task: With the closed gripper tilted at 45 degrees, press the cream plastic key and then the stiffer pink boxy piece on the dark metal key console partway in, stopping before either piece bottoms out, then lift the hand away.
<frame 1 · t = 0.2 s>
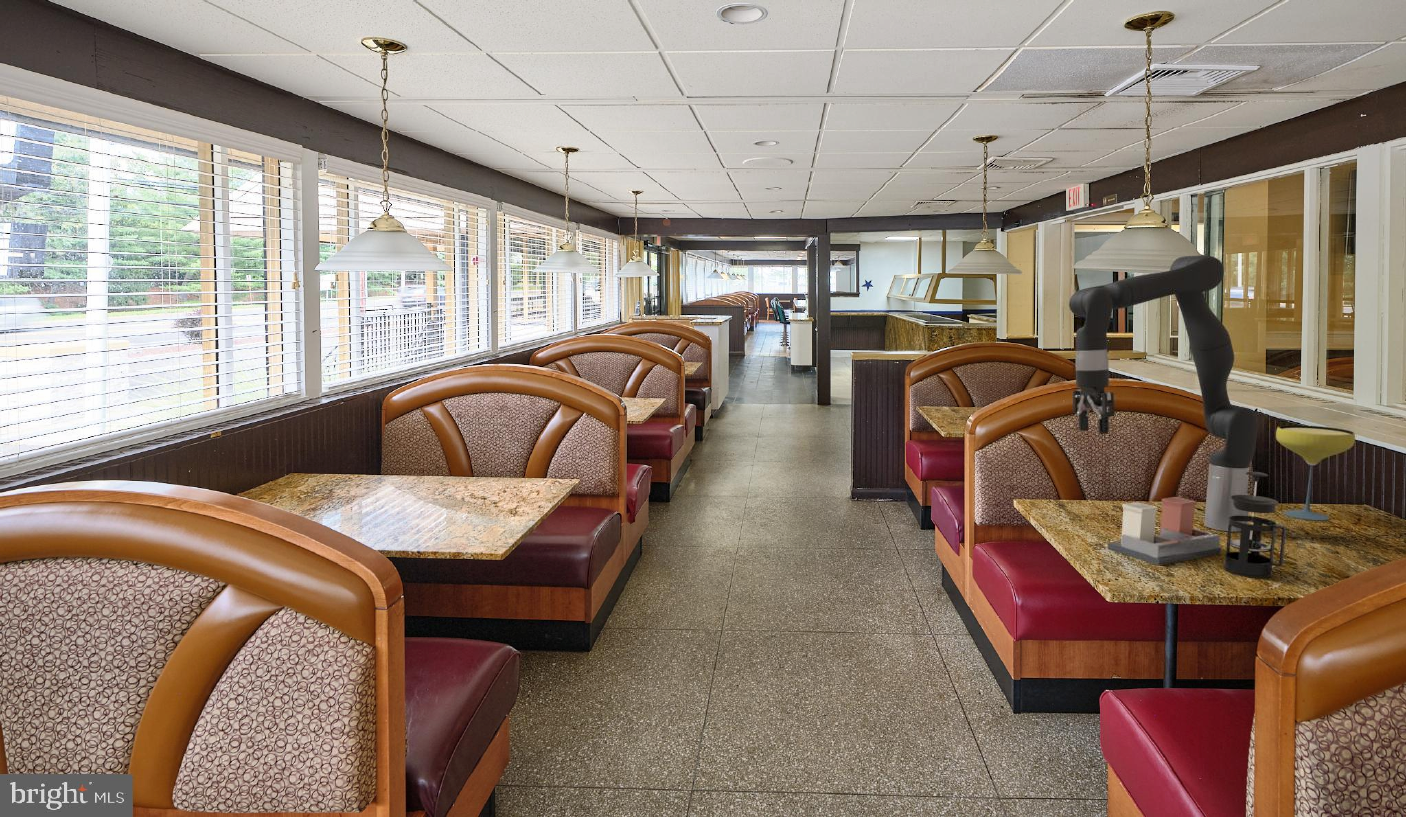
hand: (1093, 432, 214), 28 cm above the table, tool pointing down, fingers open, 8 cm apart
key console: (1159, 550, 208), on the table
pink boxy piece: (1177, 519, 211), point 7 cm above the table, slide at 0.0 cm
cocktail glass: (1306, 516, 242), on the table
french press: (1250, 573, 192), on the table
cream key: (1138, 525, 205), point 7 cm above the table, slide at 0.0 cm
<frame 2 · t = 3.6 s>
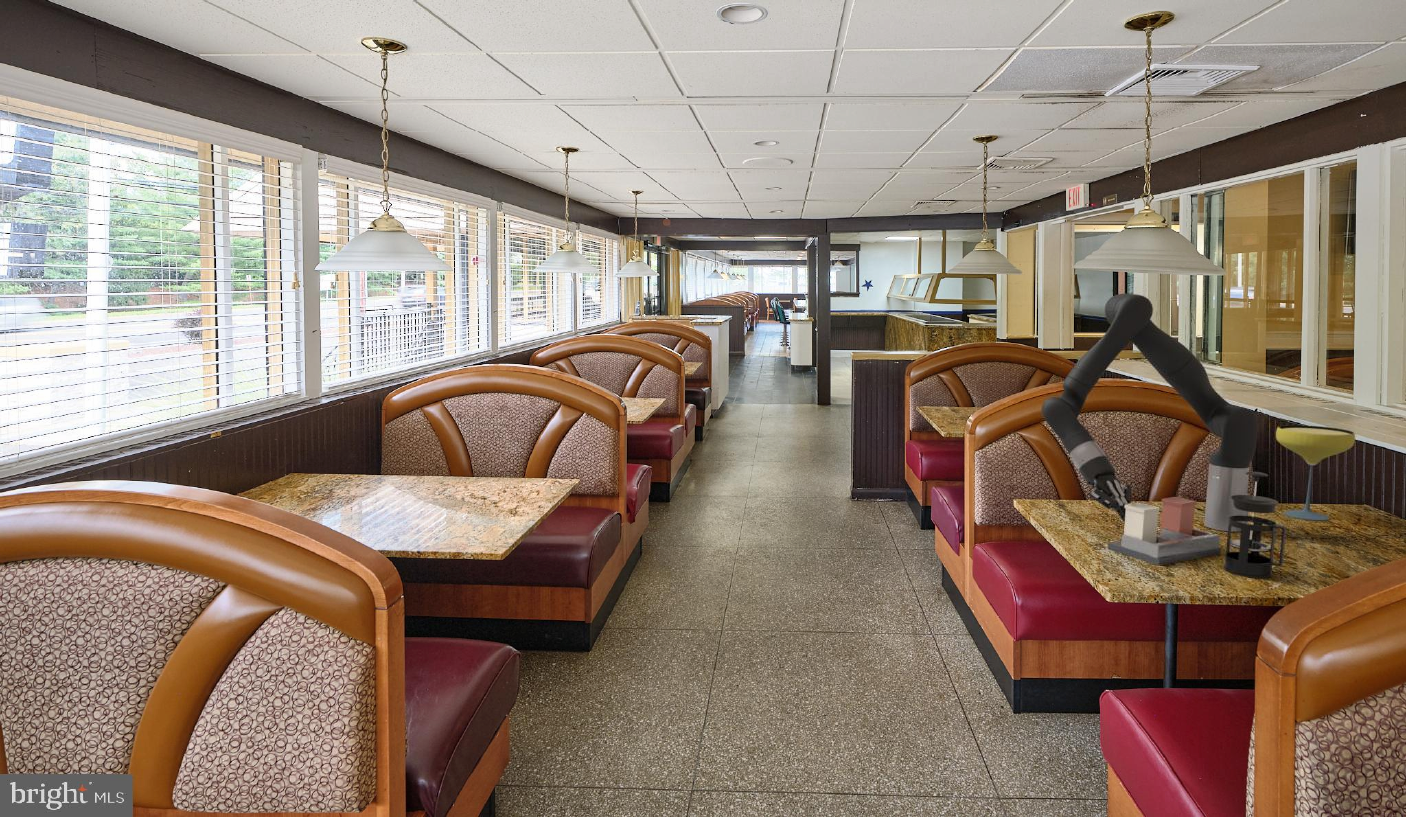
hand: (1130, 520, 208), 7 cm above the table, tool tilted 45°, fingers closed
cream key: (1140, 526, 205), point 7 cm above the table, slide at 0.6 cm, touching gripper
everything else where it was.
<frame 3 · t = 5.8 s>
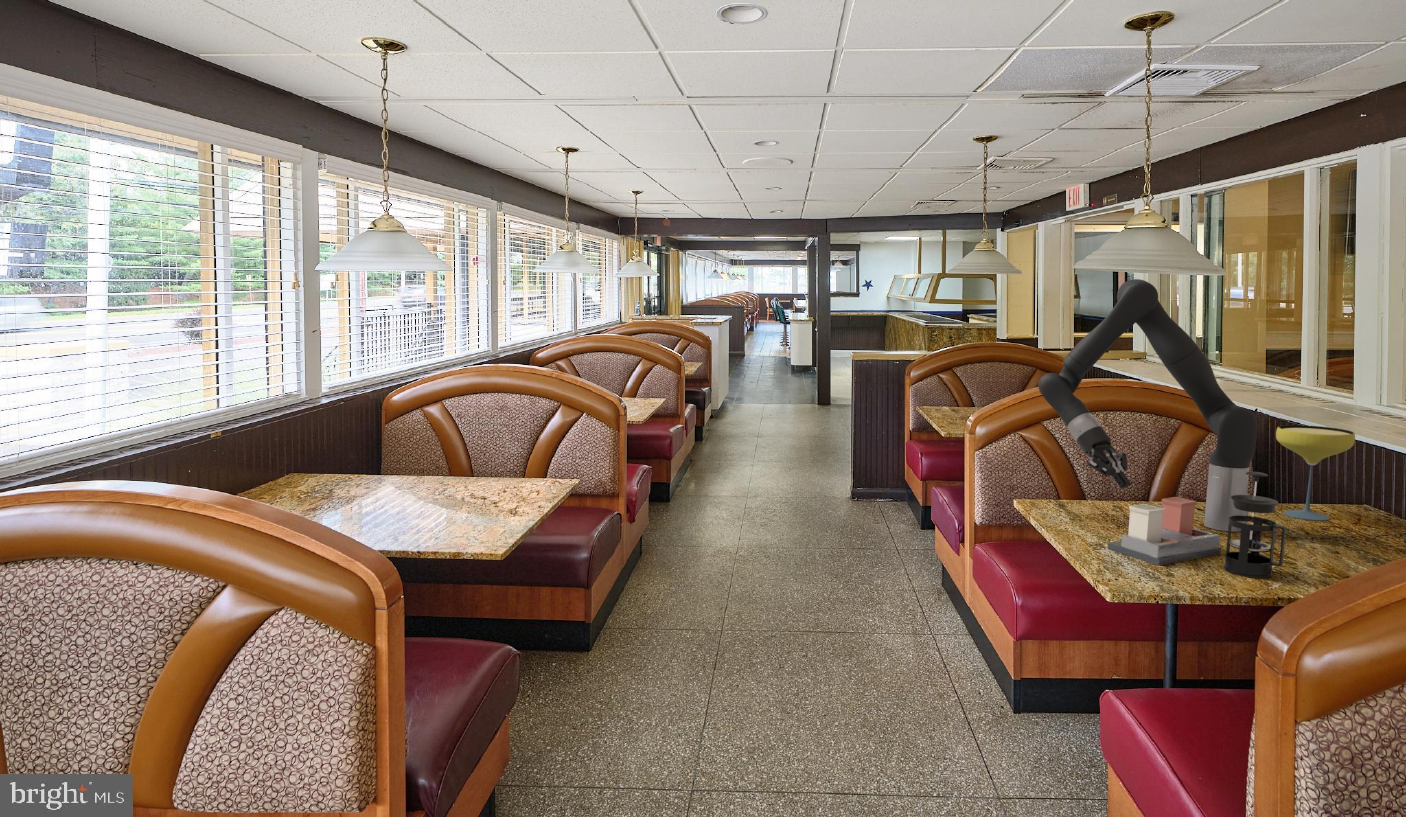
hand: (1126, 486, 219), 13 cm above the table, tool tilted 45°, fingers closed
cream key: (1145, 527, 204), point 7 cm above the table, slide at 1.8 cm
everything else where it was.
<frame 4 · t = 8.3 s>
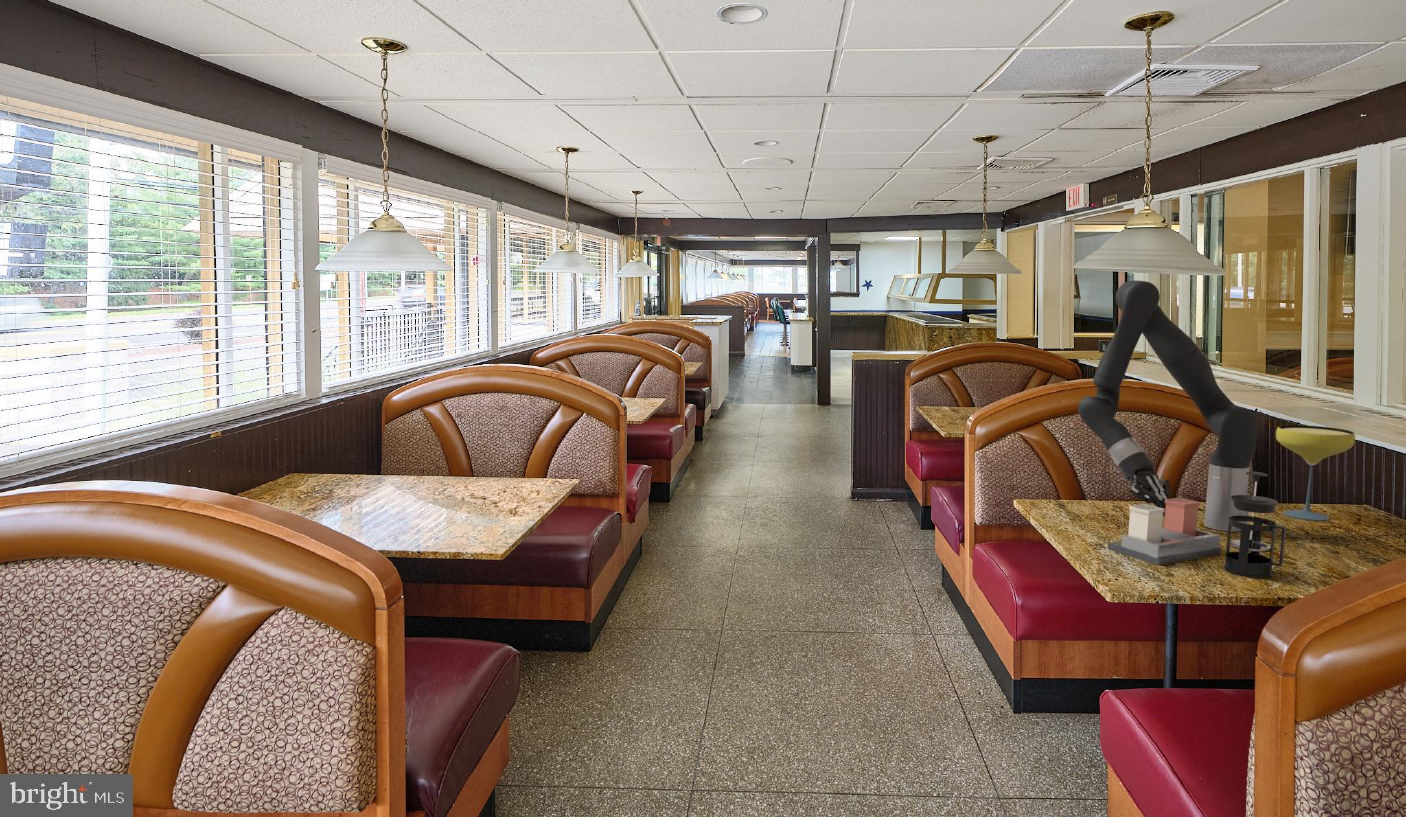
hand: (1169, 515, 213), 7 cm above the table, tool tilted 45°, fingers closed
pink boxy piece: (1180, 520, 210), point 7 cm above the table, slide at 0.9 cm, touching gripper
everything else where it was.
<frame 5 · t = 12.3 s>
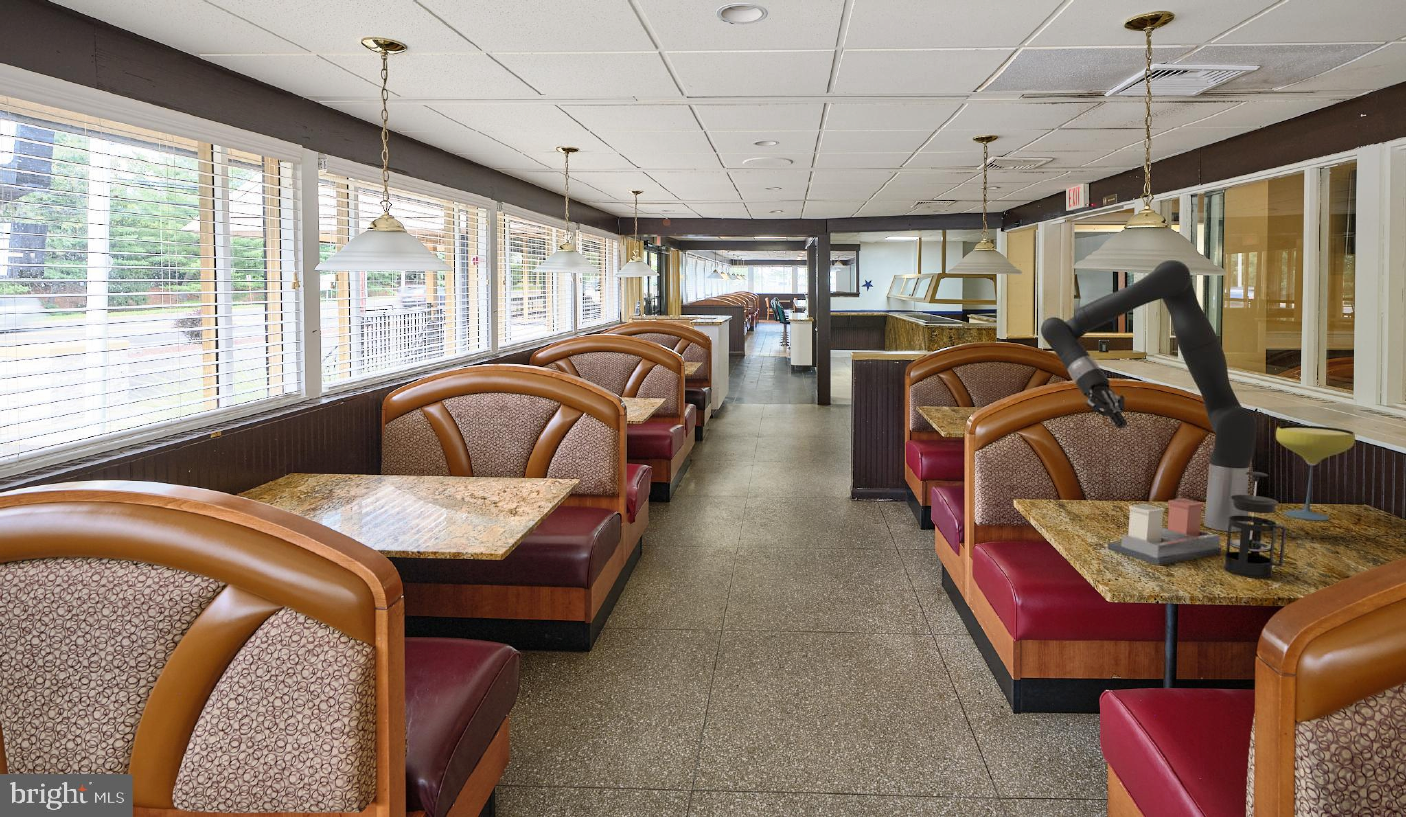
hand: (1123, 426, 224), 28 cm above the table, tool tilted 45°, fingers closed
pink boxy piece: (1184, 521, 210), point 7 cm above the table, slide at 1.8 cm
everything else where it was.
at the end: cream key slide at 1.8 cm; pink boxy piece slide at 1.8 cm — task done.
